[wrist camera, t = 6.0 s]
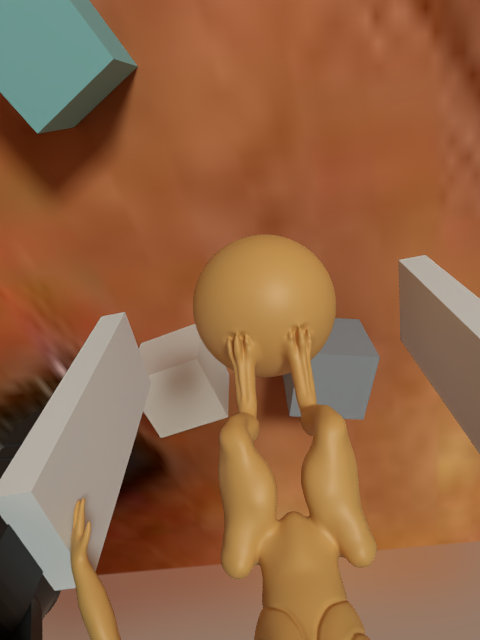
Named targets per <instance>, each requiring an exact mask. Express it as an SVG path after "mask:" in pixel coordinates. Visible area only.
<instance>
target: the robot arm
mask: <svg viewBox="0 0 480 640" xmlns="http://www.w3.org/2000/svg"><path fill="white" fill-rule="evenodd" d="M399 297H400V340H401V341H402V343H403V344H404V346H405V347H406V348H407V350H408V351H409V353H410V354H411V356H412V357H413V358H414V360H415V361H416V363H417V364H418V366H419V367H420V369H421V370H422V371H423V373H424V374H425V376H426V377H427V379H428V380H429V381H430V383H431V384H432V386H433V387H434V389H435V390H436V392H437V393H438V394H439V396H440V397H441V399H442V400H443V402H444V403H445V405H446V406H447V407H448V409H449V410H450V412H451V413H452V415H453V416H454V417H455V419H456V420H457V422H458V423H459V425H460V426H461V428H462V429H463V430H464V432H465V433H466V435H467V436H468V438H469V439H470V440H471V442H472V443H473V445H474V446H475V448H476V449H477V451H478V452H479V453H480V299H479V298H478V297H477V296H476V295H474V294H473V293H472V292H471V291H469V290H468V289H467V288H466V287H464V286H463V285H462V284H461V283H460V282H458V281H457V280H456V279H455V278H453V277H452V276H451V275H450V274H448V273H447V272H446V271H445V270H443V269H442V268H441V267H440V266H438V265H437V264H436V263H435V262H433V261H432V260H431V259H430V258H428V257H427V256H426V255H423V256H418V257H412V258H407V259H402V260H399ZM150 386H151V381H150V378H149V375H148V372H147V370H146V367H145V364H144V362H143V359H142V356H141V354H140V351H139V348H138V346H137V343H136V340H135V338H134V335H133V332H132V330H131V327H130V324H129V322H128V319H127V316H126V314H125V312H123V313H118V314H112V315H107V316H102V317H101V318H100V320H99V321H98V323H97V324H96V326H95V328H94V329H93V331H92V332H91V334H90V336H89V337H88V339H87V340H86V342H85V344H84V345H83V347H82V348H81V350H80V352H79V353H78V355H77V357H76V358H75V360H74V361H73V363H72V365H71V366H70V368H69V369H68V371H67V373H66V374H65V376H64V377H63V379H62V381H61V382H60V384H59V385H58V387H57V389H56V390H55V392H54V394H53V395H52V397H51V398H50V400H49V402H48V403H47V405H46V406H45V408H44V410H43V411H39V412H33V413H32V414H31V415H30V416H29V417H28V418H27V419H25V420H24V421H23V422H22V423H21V424H20V425H19V426H18V427H17V428H16V429H15V430H14V432H13V433H12V435H11V436H10V438H9V439H8V441H7V442H6V444H5V445H4V446H5V448H3V449H1V451H0V640H42V620H43V618H44V617H45V615H46V614H47V613H48V612H49V611H50V610H51V608H52V607H53V606H54V604H55V603H56V601H57V599H58V597H59V594H60V591H61V590H65V589H72V588H76V586H75V582H74V578H73V574H72V569H71V561H70V549H71V534H72V528H73V513H74V508H75V505H76V502H77V501H78V500H80V502H81V500H82V498H84V499H85V527H86V524H87V522H88V521H90V523H91V533H90V539H89V543H88V548H87V556H88V560H89V562H90V564H91V566H92V568H93V569H94V571H95V572H96V568H97V565H98V562H99V558H100V555H101V552H102V548H103V545H104V542H105V538H106V535H107V531H108V528H109V525H110V521H111V518H112V515H113V511H114V508H115V504H116V501H117V498H118V494H119V491H120V488H121V484H122V481H123V477H124V474H125V471H126V467H127V464H128V461H129V457H130V454H131V450H132V447H133V444H134V440H135V437H136V434H137V430H138V427H139V423H140V420H141V417H142V413H143V410H144V407H145V403H146V400H147V396H148V393H149V390H150ZM84 531H85V528H84Z"/></svg>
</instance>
